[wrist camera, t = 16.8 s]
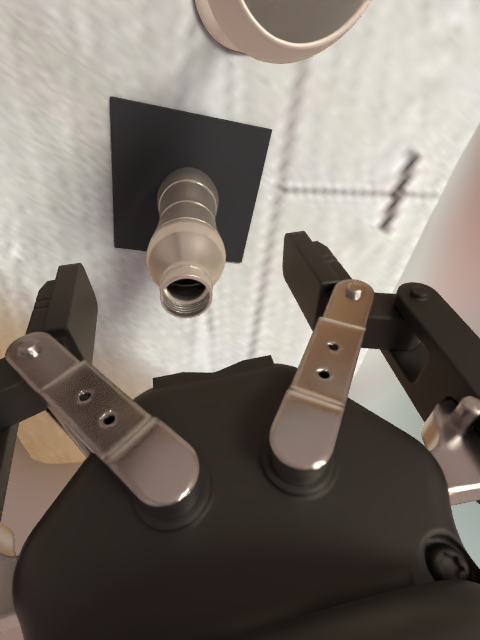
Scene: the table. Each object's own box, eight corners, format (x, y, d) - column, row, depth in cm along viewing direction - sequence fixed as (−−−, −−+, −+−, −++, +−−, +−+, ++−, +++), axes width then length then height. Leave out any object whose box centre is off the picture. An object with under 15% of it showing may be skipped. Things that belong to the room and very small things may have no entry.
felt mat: (115, 246, 43) (114, 247, 43) (110, 96, 33) (110, 96, 33) (241, 261, 46) (241, 262, 46) (271, 129, 36) (272, 130, 36)
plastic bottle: (229, 187, 40) (253, 289, 24) (192, 230, 42) (194, 345, 27) (182, 147, 36) (177, 236, 21) (146, 197, 39) (119, 306, 24)
